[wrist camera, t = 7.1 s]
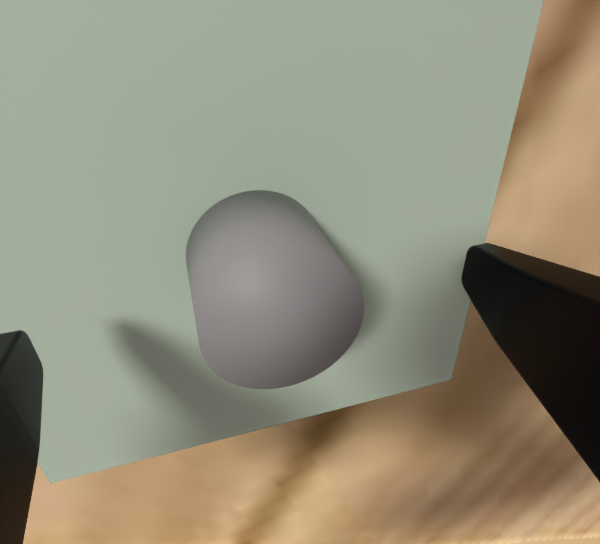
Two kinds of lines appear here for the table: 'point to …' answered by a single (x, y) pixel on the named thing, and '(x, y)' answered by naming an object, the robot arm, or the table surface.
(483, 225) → the lid
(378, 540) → the table surface
